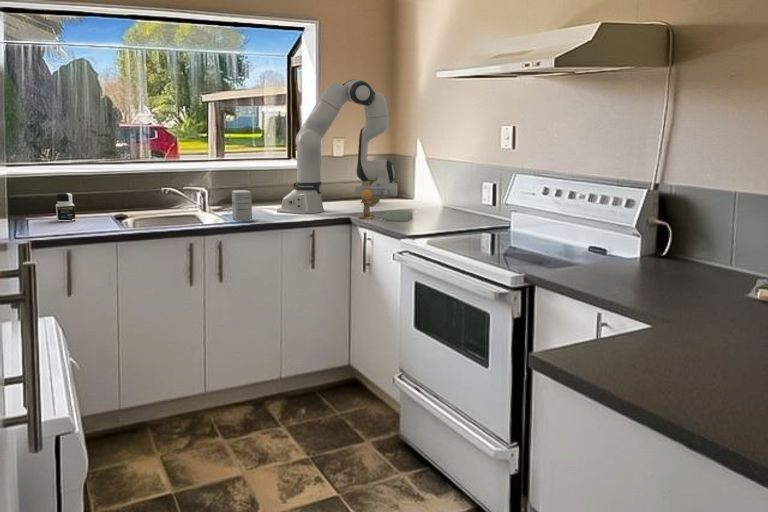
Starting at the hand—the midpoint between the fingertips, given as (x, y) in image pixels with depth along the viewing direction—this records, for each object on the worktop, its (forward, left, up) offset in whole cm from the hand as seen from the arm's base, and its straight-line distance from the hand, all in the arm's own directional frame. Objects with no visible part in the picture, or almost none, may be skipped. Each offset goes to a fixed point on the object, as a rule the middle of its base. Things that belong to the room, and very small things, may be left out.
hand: (372, 192), depth 344 cm
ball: (0, -10, -2) cm, 11 cm away
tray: (+15, -11, -11) cm, 21 cm away
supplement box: (-52, -29, -11) cm, 61 cm away
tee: (0, -10, -11) cm, 15 cm away
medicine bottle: (-124, -53, -11) cm, 135 cm away
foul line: (+8, -11, -11) cm, 17 cm away
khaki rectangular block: (-11, +38, -11) cm, 41 cm away
